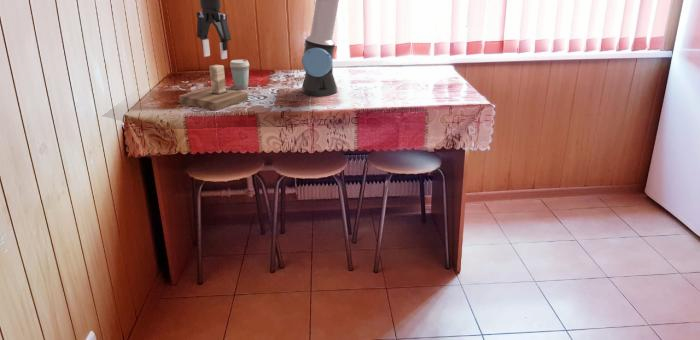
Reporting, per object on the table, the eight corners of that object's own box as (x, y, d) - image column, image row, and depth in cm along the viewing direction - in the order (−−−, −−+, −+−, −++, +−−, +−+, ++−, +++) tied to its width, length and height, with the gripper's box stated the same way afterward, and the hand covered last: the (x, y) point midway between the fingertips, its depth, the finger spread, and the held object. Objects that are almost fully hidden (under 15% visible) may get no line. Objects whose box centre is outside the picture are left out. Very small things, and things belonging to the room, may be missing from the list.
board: (248, 100, 211) (247, 92, 210) (216, 110, 197) (215, 103, 195) (212, 93, 220) (212, 86, 219) (180, 102, 206) (179, 95, 205)
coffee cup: (246, 90, 225) (244, 63, 220) (228, 89, 226) (226, 62, 221) (254, 86, 232) (252, 59, 228) (236, 85, 234) (234, 58, 229)
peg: (226, 99, 211) (223, 65, 206) (219, 101, 208) (216, 67, 203) (219, 98, 213) (216, 64, 208) (212, 100, 210) (209, 66, 205)
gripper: (237, -2, 193) (242, 58, 202) (197, -5, 203) (203, 53, 212) (223, -1, 187) (228, 61, 196) (182, -4, 197) (189, 56, 206)
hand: (215, 57), depth 204 cm, fingers open, 9 cm apart
